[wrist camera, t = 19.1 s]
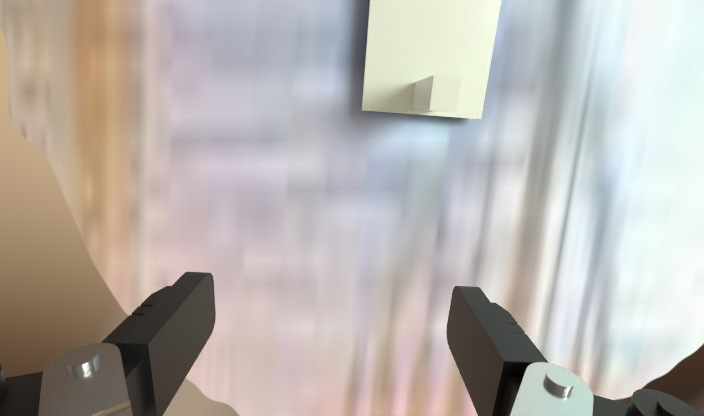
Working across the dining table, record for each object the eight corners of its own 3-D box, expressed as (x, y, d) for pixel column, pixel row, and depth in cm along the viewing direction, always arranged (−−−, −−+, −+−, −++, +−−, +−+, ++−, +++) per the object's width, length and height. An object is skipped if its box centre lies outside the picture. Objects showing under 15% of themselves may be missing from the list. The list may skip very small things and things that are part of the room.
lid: (375, -77, 36) (386, -152, 26) (505, -65, 37) (569, -134, 26) (361, 110, 41) (365, 111, 31) (474, 118, 42) (517, 122, 31)
